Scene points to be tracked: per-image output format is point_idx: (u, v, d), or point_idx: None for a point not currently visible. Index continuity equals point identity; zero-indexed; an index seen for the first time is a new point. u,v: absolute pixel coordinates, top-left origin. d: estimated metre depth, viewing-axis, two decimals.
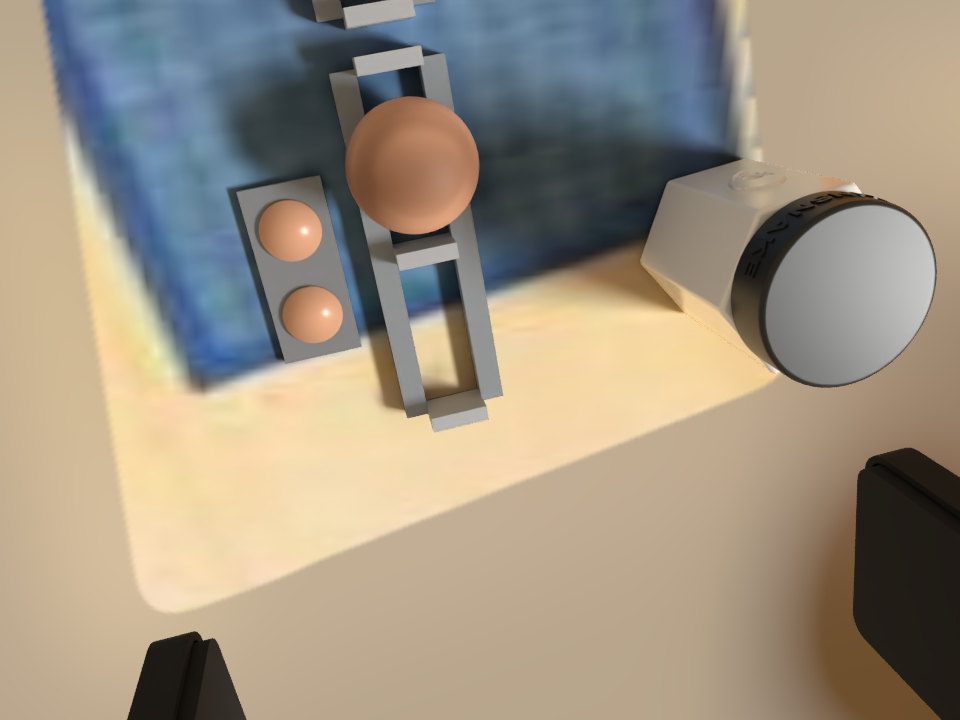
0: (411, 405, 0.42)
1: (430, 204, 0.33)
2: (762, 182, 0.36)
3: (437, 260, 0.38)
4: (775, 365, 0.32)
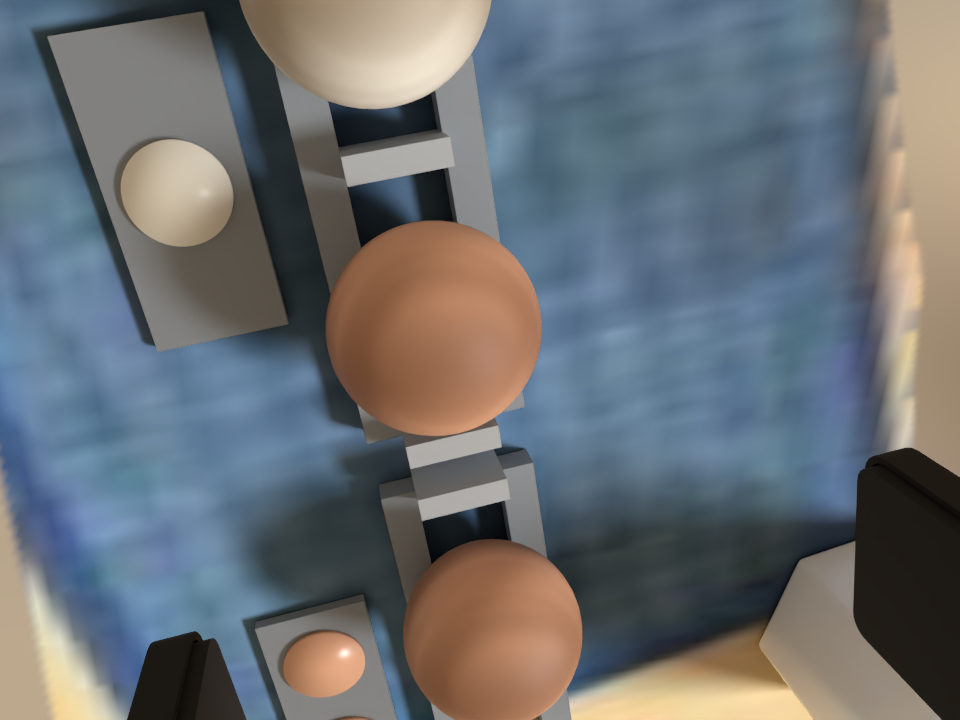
0: None
1: (523, 719, 0.24)
2: None
3: None
4: None
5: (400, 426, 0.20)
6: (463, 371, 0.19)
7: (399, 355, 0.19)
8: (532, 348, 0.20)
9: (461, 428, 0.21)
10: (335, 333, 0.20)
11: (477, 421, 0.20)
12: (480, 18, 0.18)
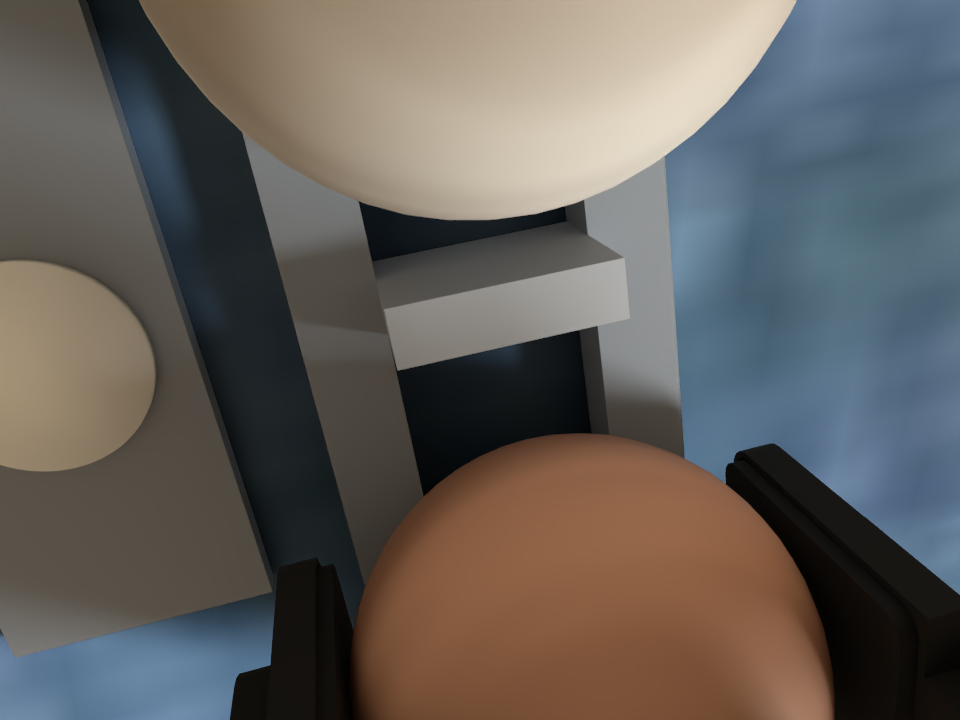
0: None
1: None
2: None
3: None
4: None
5: None
6: None
7: None
8: None
9: None
10: None
11: None
12: None
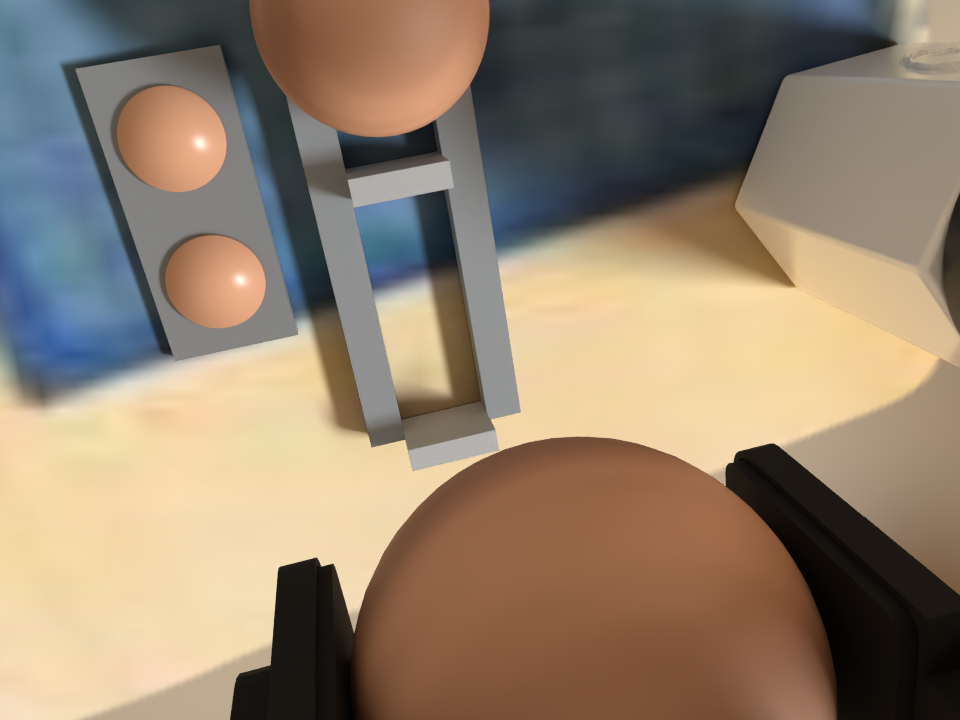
0: (378, 427, 0.27)
1: (400, 68, 0.18)
2: None
3: (417, 190, 0.23)
4: None
5: None
6: None
7: None
8: None
9: None
10: None
11: None
12: None
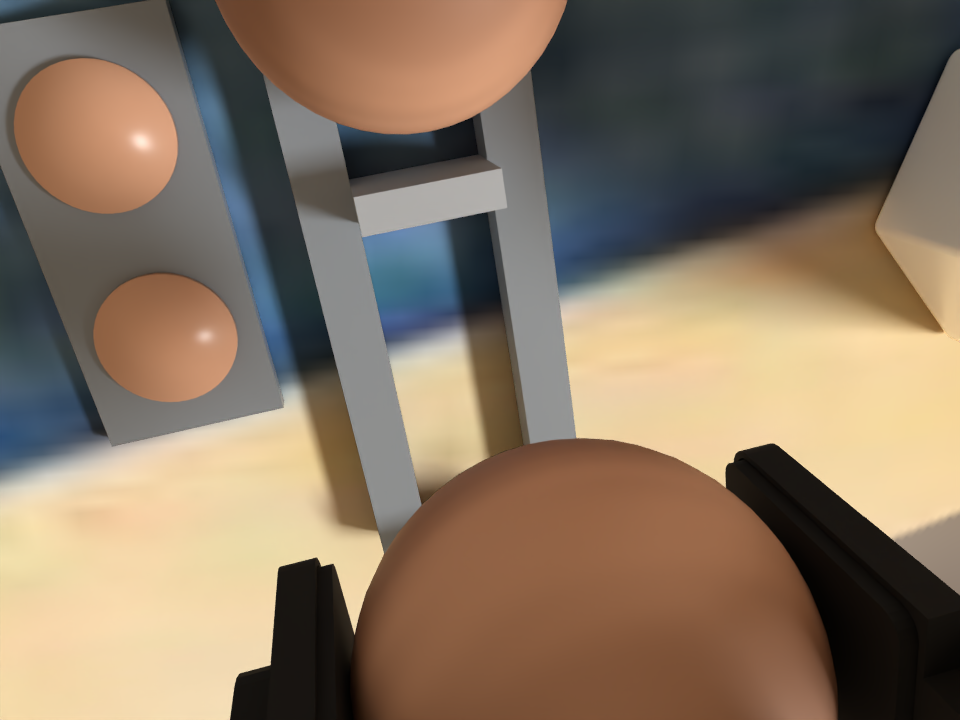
0: (393, 529, 0.20)
1: (443, 19, 0.11)
2: None
3: (454, 212, 0.16)
4: None
5: None
6: None
7: None
8: None
9: None
10: None
11: None
12: None
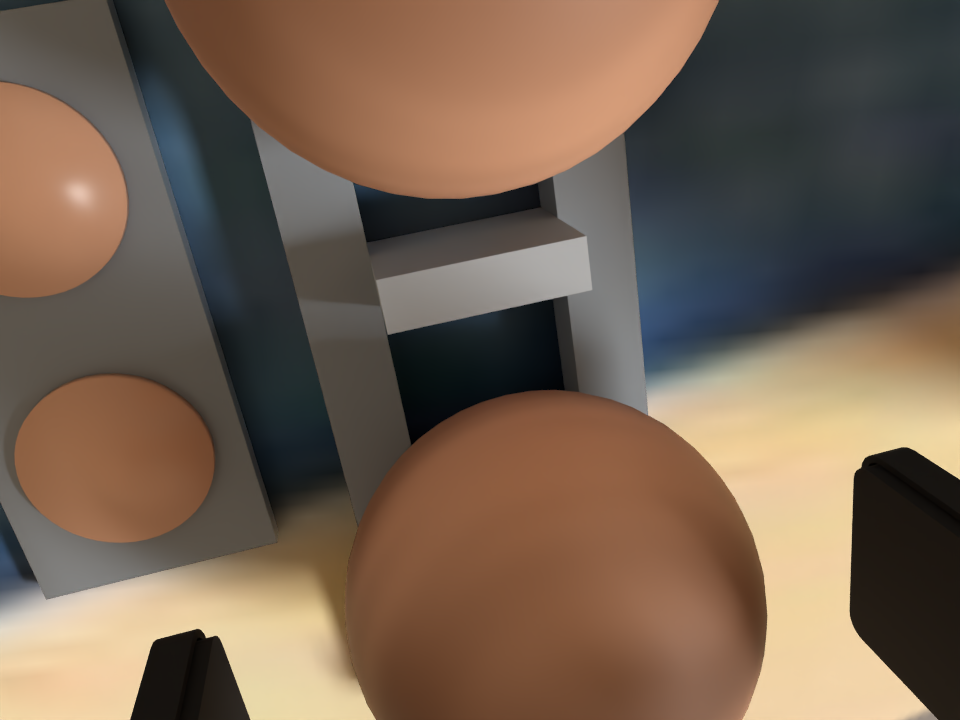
0: None
1: (549, 22, 0.06)
2: None
3: (518, 298, 0.11)
4: None
5: None
6: None
7: None
8: (761, 663, 0.10)
9: None
10: (365, 646, 0.10)
11: None
12: None
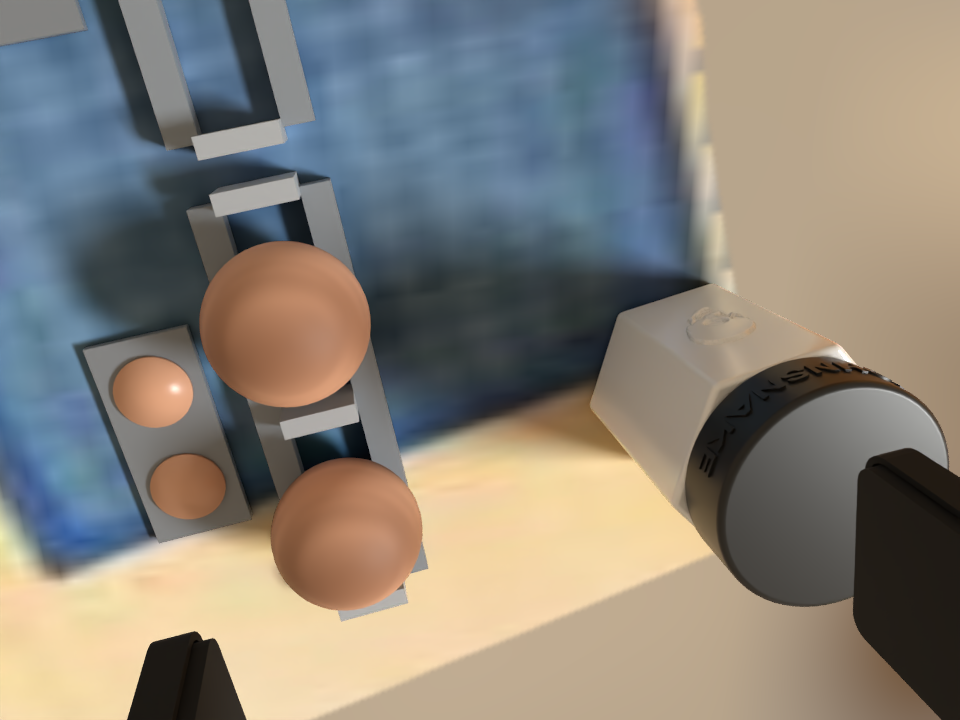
0: None
1: (299, 381, 0.26)
2: (726, 332, 0.29)
3: (331, 425, 0.31)
4: (742, 584, 0.25)
5: (321, 606, 0.30)
6: (357, 576, 0.28)
7: (314, 568, 0.28)
8: (410, 552, 0.30)
9: (363, 607, 0.30)
10: (274, 546, 0.29)
11: (374, 602, 0.30)
12: None
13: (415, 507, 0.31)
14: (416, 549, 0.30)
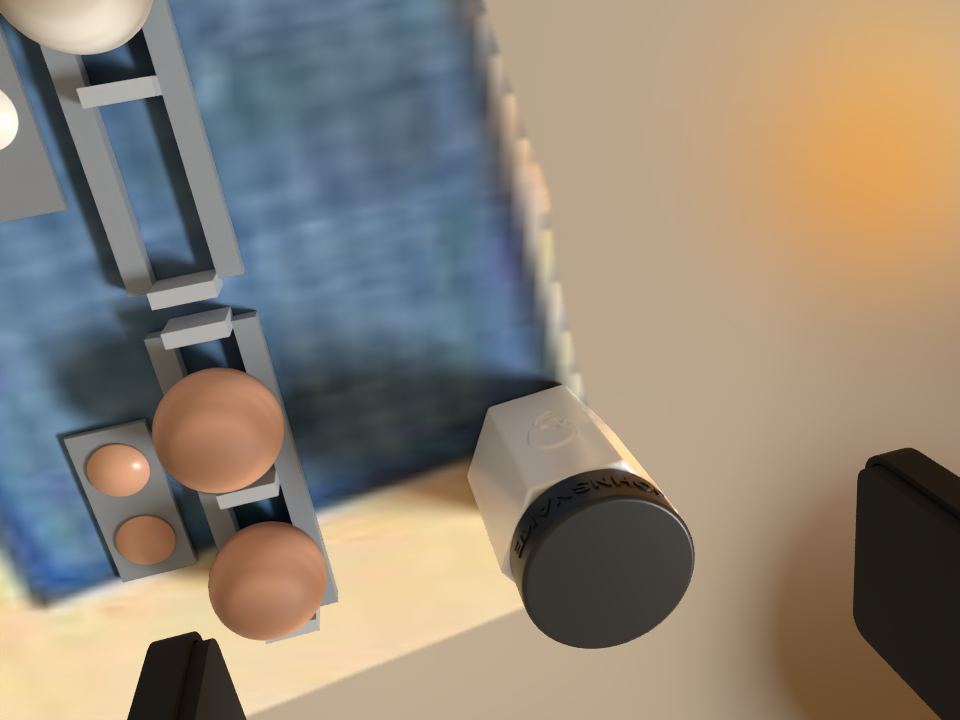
0: None
1: (225, 479, 0.35)
2: (552, 439, 0.38)
3: (257, 498, 0.40)
4: None
5: (246, 637, 0.39)
6: (271, 618, 0.38)
7: (238, 611, 0.38)
8: (314, 597, 0.39)
9: (278, 638, 0.39)
10: (210, 592, 0.39)
11: (286, 635, 0.39)
12: None
13: (320, 562, 0.40)
14: (320, 594, 0.40)
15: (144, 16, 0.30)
